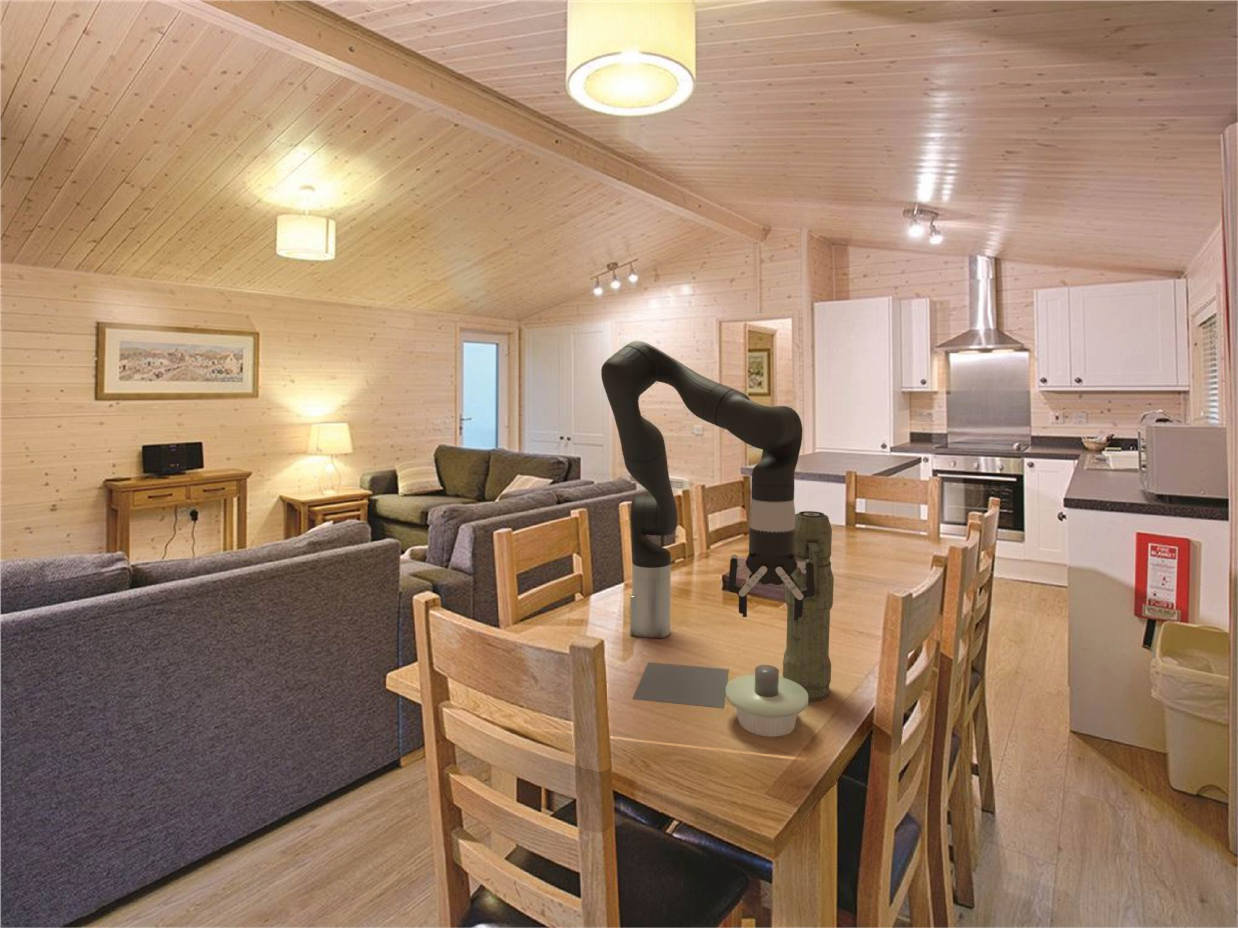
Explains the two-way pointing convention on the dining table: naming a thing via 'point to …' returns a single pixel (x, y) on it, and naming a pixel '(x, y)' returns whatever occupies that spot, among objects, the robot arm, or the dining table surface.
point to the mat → (683, 685)
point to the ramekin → (766, 724)
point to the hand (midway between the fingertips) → (770, 617)
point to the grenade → (811, 609)
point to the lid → (766, 693)
